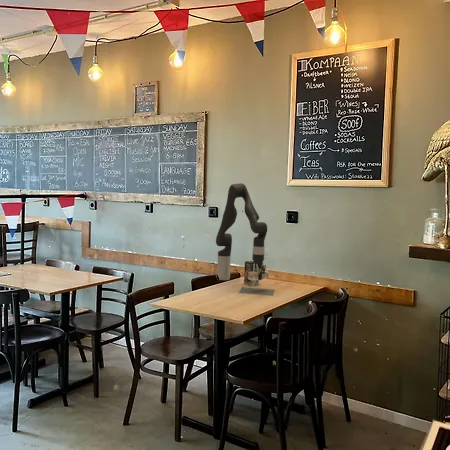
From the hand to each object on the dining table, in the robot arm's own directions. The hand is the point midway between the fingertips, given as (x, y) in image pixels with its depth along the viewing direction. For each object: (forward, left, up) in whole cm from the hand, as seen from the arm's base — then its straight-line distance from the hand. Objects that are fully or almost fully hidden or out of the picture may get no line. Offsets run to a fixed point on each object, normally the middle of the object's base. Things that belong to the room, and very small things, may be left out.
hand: (257, 279), depth 305 cm
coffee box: (-6, +19, -9) cm, 22 cm away
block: (+5, +5, +2) cm, 8 cm away
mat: (0, 0, -8) cm, 8 cm away
